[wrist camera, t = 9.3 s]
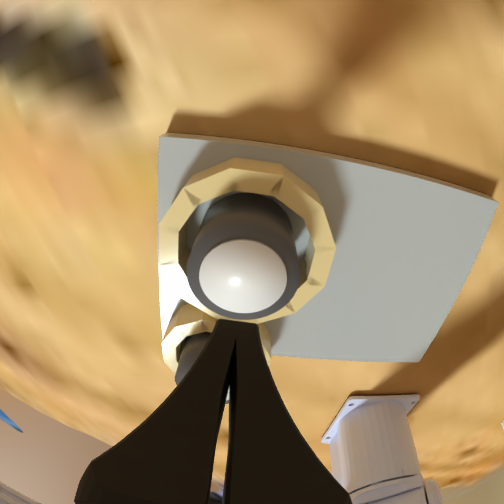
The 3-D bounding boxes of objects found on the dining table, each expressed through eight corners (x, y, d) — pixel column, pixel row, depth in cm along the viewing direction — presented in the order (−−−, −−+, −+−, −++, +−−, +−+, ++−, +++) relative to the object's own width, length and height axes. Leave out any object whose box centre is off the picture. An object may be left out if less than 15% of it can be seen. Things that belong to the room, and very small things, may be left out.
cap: (287, 277, 19) (292, 324, 15) (201, 272, 19) (189, 318, 15) (297, 196, 16) (308, 231, 13) (199, 190, 16) (182, 224, 13)
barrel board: (402, 370, 25) (418, 420, 20) (168, 349, 24) (151, 404, 20) (488, 195, 16) (537, 234, 12) (166, 132, 16) (125, 157, 11)
